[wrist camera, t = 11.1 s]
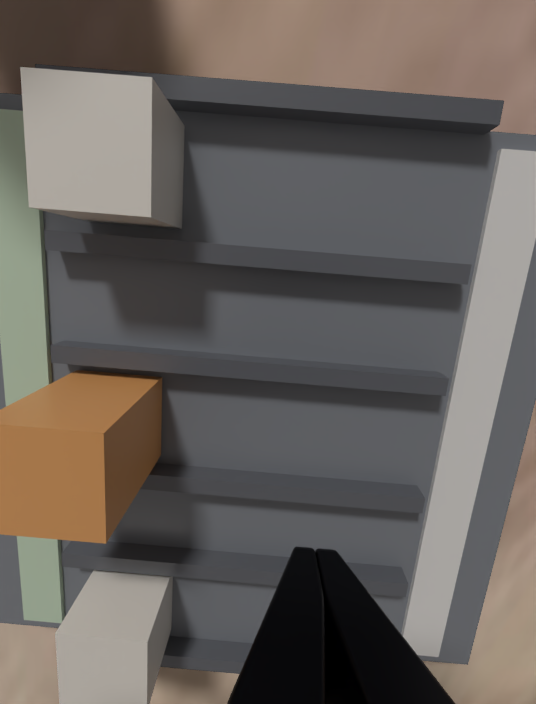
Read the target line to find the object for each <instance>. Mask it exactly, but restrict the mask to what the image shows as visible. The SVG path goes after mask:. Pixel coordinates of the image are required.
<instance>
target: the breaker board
mask: <svg viewBox="0 0 536 704" xmlns="http://www.w3.org/2000/svg"><path fill="white" fill-rule="evenodd" d="M20 72H21V88H22V95H21V94H8V93H0V410H1V409H3V408H4V407H6V406H8V405H10V404H12V403H14V402H16V401H18V400H20V399H22V398H24V397H26V396H28V395H30V394H32V393H33V392H35V391H37V390H39V389H41V388H43V387H45V386H47V385H49V384H51V383H53V382H55V381H57V380H59V379H61V378H62V377H64V376H66V375H68V374H70V373H72V372H74V371H76V370H84V371H96V372H108V373H120V374H132V375H143V376H155V377H162V425H161V456H160V457H159V459H158V461H157V462H156V464H155V466H154V467H153V469H152V470H151V472H150V474H149V475H148V477H147V478H146V480H145V482H144V483H143V485H142V487H141V488H140V490H139V491H138V493H137V495H136V496H135V498H134V500H133V501H132V503H131V504H130V506H129V508H128V509H127V511H126V512H125V514H124V516H123V517H122V519H121V521H120V522H119V524H118V525H117V527H116V529H115V530H114V532H113V533H112V535H111V537H110V538H109V540H108V542H107V543H106V544H104V543H92V542H81V541H69V540H58V539H47V538H35V537H24V536H12V535H1V534H0V623H9V624H21V625H32V626H43V627H54V628H58V630H57V631H56V633H55V639H56V655H57V671H58V687H59V704H149V703H150V700H151V696H152V693H153V690H154V686H155V683H156V679H157V676H158V673H159V669H160V667H170V668H181V669H192V670H203V671H214V672H225V673H236V674H240V672H241V670H242V668H243V665H244V663H245V661H246V658H247V656H248V653H249V651H250V649H251V646H252V644H253V642H254V639H255V637H256V635H257V632H258V630H259V628H260V625H261V623H262V621H263V618H264V616H265V614H266V611H267V609H268V607H269V604H270V602H271V600H272V597H273V595H274V593H275V590H276V588H277V586H278V583H279V581H280V579H281V576H282V574H283V572H284V569H285V567H286V565H287V562H288V560H289V558H290V555H291V553H292V551H293V549H294V547H296V546H299V547H310V548H313V549H314V550H316V549H318V548H322V549H333V550H336V551H337V552H338V553H339V554H340V556H341V557H342V558H343V560H344V561H345V562H346V564H347V565H348V566H349V567H350V569H351V570H352V571H353V573H354V574H355V575H356V576H357V578H358V579H359V580H360V582H361V583H362V584H363V585H364V587H365V588H366V589H367V591H368V592H369V593H370V594H371V596H372V597H373V598H374V600H375V601H376V602H377V603H378V605H379V606H380V607H381V609H382V610H383V611H384V613H385V614H386V615H387V616H388V618H389V619H390V620H391V622H392V623H393V624H394V625H395V627H396V628H397V629H398V631H399V632H400V633H401V634H402V636H403V637H404V638H405V640H406V641H407V642H408V643H409V645H410V646H411V647H412V649H413V650H414V651H415V653H416V654H417V655H418V656H419V658H420V659H421V660H422V661H433V662H444V663H456V664H467V665H468V662H469V658H470V654H471V650H472V646H473V642H474V638H475V634H476V630H477V626H478V623H479V619H480V615H481V611H482V607H483V603H484V599H485V595H486V591H487V587H488V584H489V580H490V576H491V572H492V568H493V564H494V560H495V556H496V552H497V548H498V545H499V541H500V537H501V533H502V529H503V525H504V521H505V517H506V513H507V509H508V505H509V502H510V498H511V494H512V490H513V486H514V482H515V478H516V474H517V470H518V466H519V463H520V459H521V455H522V451H523V447H524V443H525V439H526V435H527V431H528V427H529V424H530V420H531V416H532V412H533V408H534V404H535V400H536V135H528V134H516V133H503V132H490V131H491V130H492V129H494V128H495V127H497V126H498V125H499V124H500V119H501V114H502V109H503V104H504V101H501V100H489V99H476V98H463V97H450V96H437V95H425V94H412V93H399V92H386V91H373V90H361V89H348V88H335V87H322V86H309V85H296V84H284V83H271V82H258V81H245V80H232V79H220V78H207V77H194V76H181V75H168V74H156V73H143V72H130V71H117V70H104V69H92V68H79V67H66V66H53V65H40V64H35V68H28V67H20Z"/></svg>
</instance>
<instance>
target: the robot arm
mask: <svg viewBox="0 0 536 704" xmlns="http://www.w3.org/2000/svg"><path fill="white" fill-rule="evenodd" d="M228 704H455V703H454V702H453V700H452V699H451V698H450V696H449V695H448V694H447V692H446V691H445V690H444V689H443V687H442V686H441V685H440V683H439V682H438V681H437V680H436V678H435V677H434V676H433V674H432V673H431V672H430V671H429V669H428V668H427V667H426V665H425V664H424V663H423V662H422V660H421V659H420V658H419V656H418V655H417V654H416V653H415V651H414V650H413V649H412V647H411V646H410V645H409V643H408V642H407V641H406V640H405V638H404V637H403V636H402V634H401V633H400V632H399V631H398V629H397V628H396V627H395V625H394V624H393V623H392V622H391V620H390V619H389V618H388V616H387V615H386V614H385V613H384V611H383V610H382V609H381V607H380V606H379V605H378V603H377V602H376V601H375V600H374V598H373V597H372V596H371V594H370V593H369V592H368V591H367V589H366V588H365V587H364V585H363V584H362V583H361V582H360V580H359V579H358V578H357V576H356V575H355V574H354V573H353V571H352V570H351V569H350V567H349V566H348V565H347V564H346V562H345V561H344V560H343V558H342V557H341V556H340V554H339V553H338V552H337V551H336V550H333V549H322V548H318V549H316V550H314V549H313V548H310V547H299V546H296V547H294V549H293V551H292V553H291V555H290V558H289V560H288V562H287V565H286V567H285V569H284V572H283V574H282V576H281V579H280V581H279V583H278V586H277V588H276V590H275V593H274V595H273V597H272V600H271V602H270V604H269V607H268V609H267V611H266V614H265V616H264V618H263V621H262V623H261V625H260V628H259V630H258V632H257V635H256V637H255V639H254V642H253V644H252V646H251V649H250V651H249V653H248V656H247V658H246V661H245V663H244V665H243V668H242V670H241V672H240V675H239V677H238V679H237V682H236V684H235V686H234V689H233V691H232V693H231V696H230V698H229V700H228Z"/></svg>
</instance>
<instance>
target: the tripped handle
mask: <svg viewBox="0 0 536 704" xmlns="http://www.w3.org/2000/svg"><path fill="white" fill-rule="evenodd" d="M161 425H162V377H155V376H143V375H132V374H120V373H108V372H96V371H84V370H76V371H74V372H72V373H70V374H68V375H66V376H64V377H62V378H61V379H59V380H57V381H55V382H53V383H51V384H49V385H47V386H45V387H43V388H41V389H39V390H37V391H35V392H33V393H32V394H30V395H28V396H26V397H24V398H22V399H20V400H18V401H16V402H14V403H12V404H10V405H8V406H6V407H4V408H3V409H1V410H0V534H1V535H12V536H24V537H35V538H47V539H58V540H69V541H81V542H92V543H104V544H106V543H107V542H108V540H109V538H110V537H111V535H112V533H113V532H114V530H115V529H116V527H117V525H118V524H119V522H120V521H121V519H122V517H123V516H124V514H125V512H126V511H127V509H128V508H129V506H130V504H131V503H132V501H133V500H134V498H135V496H136V495H137V493H138V491H139V490H140V488H141V487H142V485H143V483H144V482H145V480H146V478H147V477H148V475H149V474H150V472H151V470H152V469H153V467H154V466H155V464H156V462H157V461H158V459H159V457H160V456H161Z"/></svg>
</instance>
